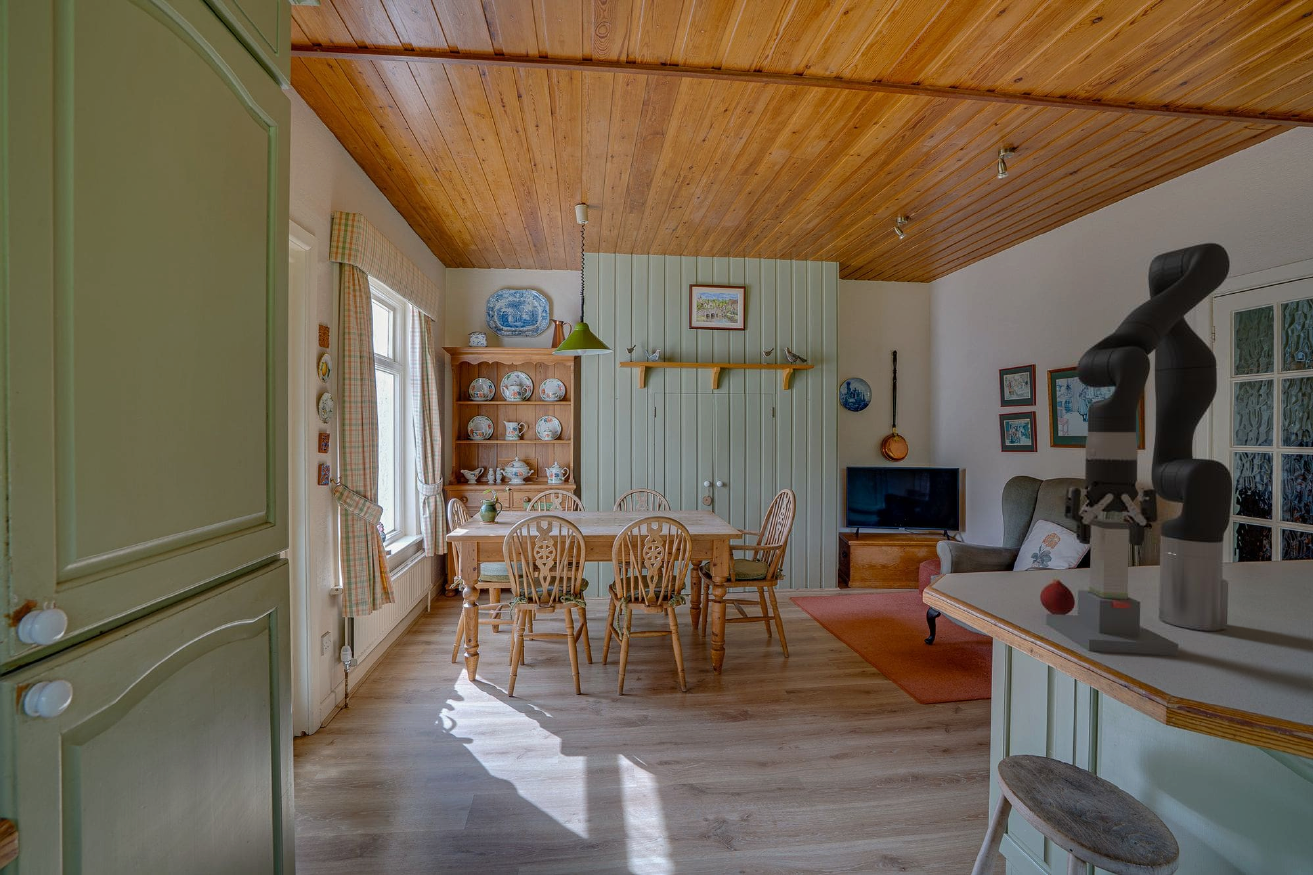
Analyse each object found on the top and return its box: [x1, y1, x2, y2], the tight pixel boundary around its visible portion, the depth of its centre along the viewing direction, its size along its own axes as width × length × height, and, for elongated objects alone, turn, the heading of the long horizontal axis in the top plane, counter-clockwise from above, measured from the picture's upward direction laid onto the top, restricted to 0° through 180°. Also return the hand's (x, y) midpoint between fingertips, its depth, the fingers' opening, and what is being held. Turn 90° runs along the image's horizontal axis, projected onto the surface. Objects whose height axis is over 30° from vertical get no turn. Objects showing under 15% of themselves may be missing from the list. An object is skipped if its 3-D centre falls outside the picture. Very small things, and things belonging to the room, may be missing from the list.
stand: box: [1045, 589, 1179, 657], centre depth 106 cm, size 14×14×8 cm
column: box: [1088, 518, 1130, 600], centre depth 106 cm, size 4×4×14 cm
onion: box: [1039, 578, 1076, 615], centre depth 118 cm, size 6×6×8 cm
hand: (1109, 544), depth 106 cm, fingers open, 8 cm apart
